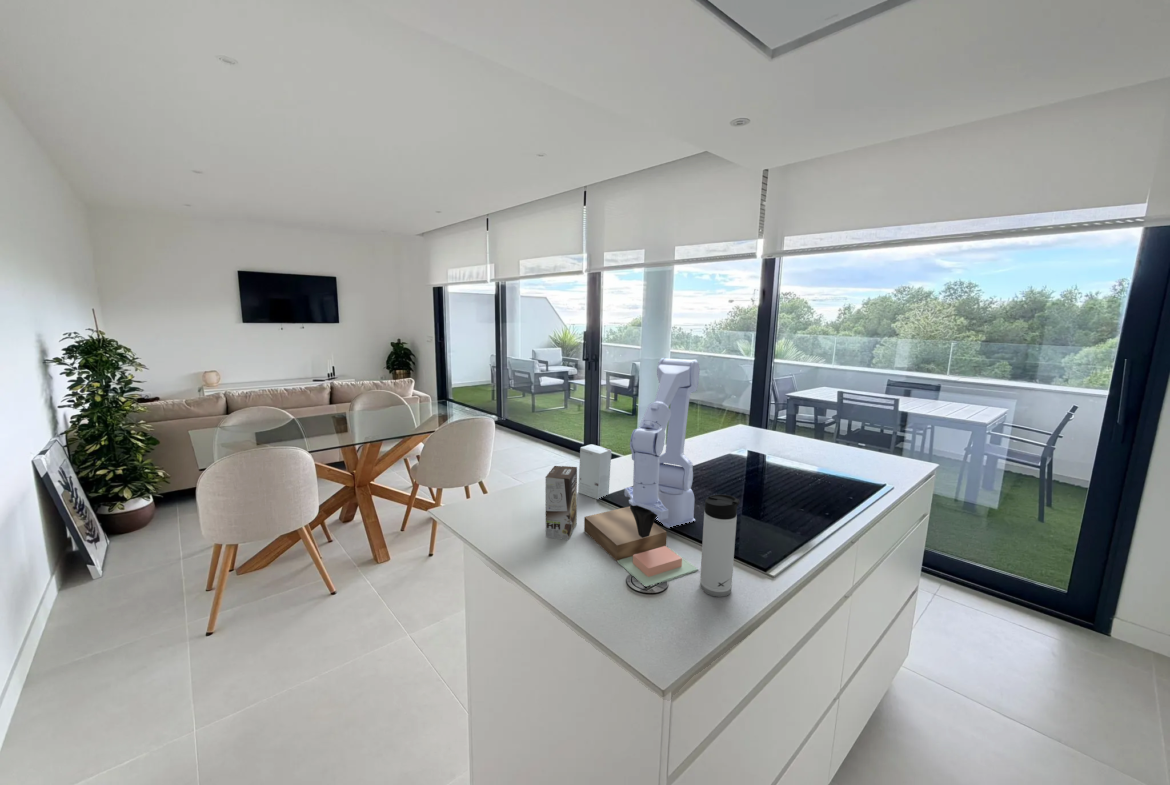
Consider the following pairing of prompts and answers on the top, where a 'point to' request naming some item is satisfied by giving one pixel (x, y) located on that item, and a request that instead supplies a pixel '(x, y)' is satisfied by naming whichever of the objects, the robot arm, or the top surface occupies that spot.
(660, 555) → the coral block
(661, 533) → the block
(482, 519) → the top surface
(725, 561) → the travel mug
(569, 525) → the coffee box
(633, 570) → the sage mat
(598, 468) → the skincare box
